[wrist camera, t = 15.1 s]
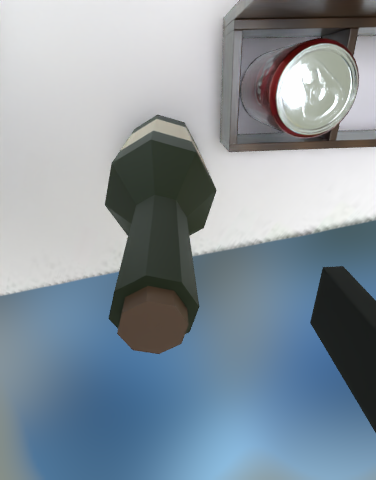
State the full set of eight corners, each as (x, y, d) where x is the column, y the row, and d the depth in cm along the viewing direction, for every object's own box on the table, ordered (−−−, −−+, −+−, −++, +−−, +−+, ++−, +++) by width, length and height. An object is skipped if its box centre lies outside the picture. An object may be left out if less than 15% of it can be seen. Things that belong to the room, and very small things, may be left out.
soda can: (310, 102, 35) (371, 111, 25) (254, 133, 37) (289, 155, 26) (290, 36, 32) (350, 15, 22) (229, 74, 33) (257, 70, 23)
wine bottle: (170, 196, 40) (175, 427, 13) (115, 157, 37) (-15, 350, 10) (210, 144, 37) (320, 307, 10) (155, 98, 34) (113, 159, 8)
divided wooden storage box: (220, 141, 37) (246, 172, 24) (223, 17, 31) (260, -25, 19) (393, 135, 38) (503, 162, 25) (428, 14, 32) (593, -28, 20)
